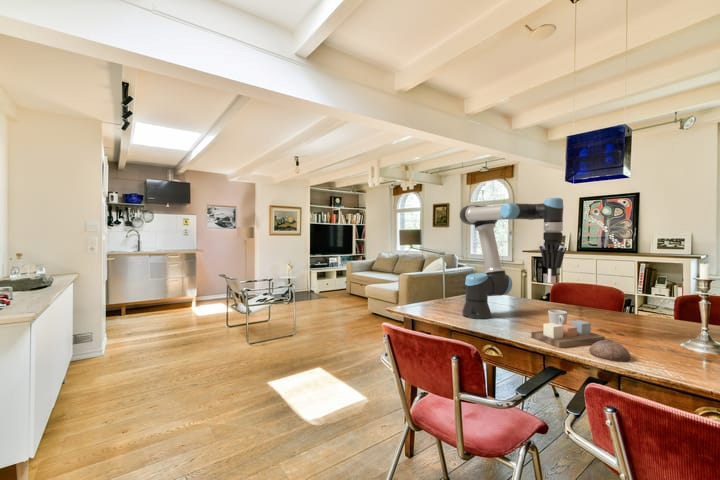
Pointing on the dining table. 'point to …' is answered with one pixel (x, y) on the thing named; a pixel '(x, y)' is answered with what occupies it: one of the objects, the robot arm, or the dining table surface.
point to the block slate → (582, 327)
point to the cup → (557, 317)
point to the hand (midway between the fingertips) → (551, 282)
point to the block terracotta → (569, 330)
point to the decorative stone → (609, 351)
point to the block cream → (553, 330)
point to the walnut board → (568, 339)
